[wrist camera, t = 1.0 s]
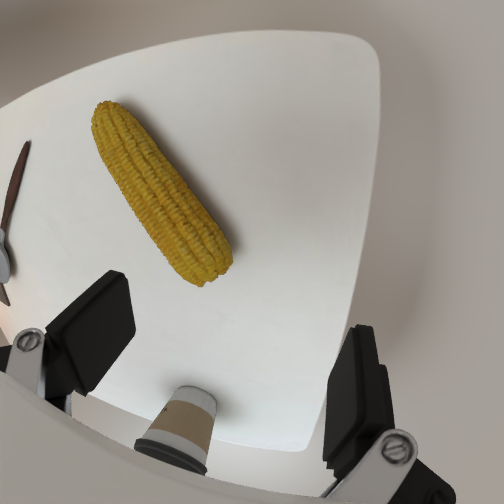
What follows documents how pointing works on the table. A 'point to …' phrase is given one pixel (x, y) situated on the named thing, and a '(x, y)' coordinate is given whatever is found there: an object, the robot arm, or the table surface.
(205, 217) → the food
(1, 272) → the spoon
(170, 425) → the coffee cup
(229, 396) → the table surface
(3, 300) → the spatula
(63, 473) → the robot arm
